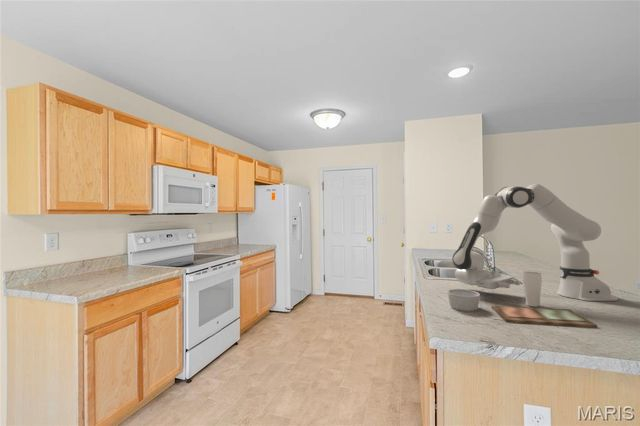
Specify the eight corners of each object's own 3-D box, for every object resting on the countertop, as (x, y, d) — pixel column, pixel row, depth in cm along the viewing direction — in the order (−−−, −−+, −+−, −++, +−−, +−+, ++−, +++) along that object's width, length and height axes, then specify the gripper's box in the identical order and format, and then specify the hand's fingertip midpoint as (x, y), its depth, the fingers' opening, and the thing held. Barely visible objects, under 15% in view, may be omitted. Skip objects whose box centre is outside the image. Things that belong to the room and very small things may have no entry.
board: (569, 311, 127) (569, 308, 127) (597, 327, 110) (597, 324, 110) (491, 307, 135) (491, 304, 135) (505, 322, 117) (505, 318, 117)
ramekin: (483, 307, 136) (483, 291, 136) (475, 314, 126) (474, 298, 126) (453, 301, 145) (453, 287, 145) (443, 308, 135) (443, 293, 135)
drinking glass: (545, 308, 133) (544, 274, 133) (528, 307, 134) (527, 274, 134) (537, 303, 139) (536, 271, 139) (521, 302, 141) (520, 271, 141)
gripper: (473, 276, 150) (502, 281, 138) (496, 271, 161) (524, 275, 149) (474, 288, 150) (502, 294, 138) (496, 282, 161) (525, 288, 149)
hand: (514, 284), depth 143 cm, fingers open, 8 cm apart
